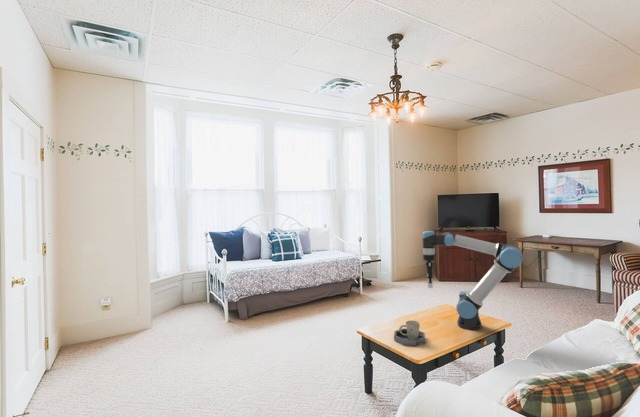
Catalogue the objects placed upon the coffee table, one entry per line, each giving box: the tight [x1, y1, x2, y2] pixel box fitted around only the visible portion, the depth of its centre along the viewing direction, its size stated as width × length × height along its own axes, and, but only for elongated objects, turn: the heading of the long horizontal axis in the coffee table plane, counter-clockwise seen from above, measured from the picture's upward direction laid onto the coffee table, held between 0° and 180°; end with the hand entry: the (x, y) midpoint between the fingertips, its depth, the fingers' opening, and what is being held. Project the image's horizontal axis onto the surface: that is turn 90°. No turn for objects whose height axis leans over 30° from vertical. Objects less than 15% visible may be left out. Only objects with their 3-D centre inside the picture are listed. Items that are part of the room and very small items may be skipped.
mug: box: [398, 320, 420, 340], centre depth 208 cm, size 8×13×10 cm, turn 79°
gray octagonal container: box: [393, 328, 426, 347], centre depth 208 cm, size 18×18×3 cm
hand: (430, 285), depth 225 cm, fingers open, 13 cm apart
